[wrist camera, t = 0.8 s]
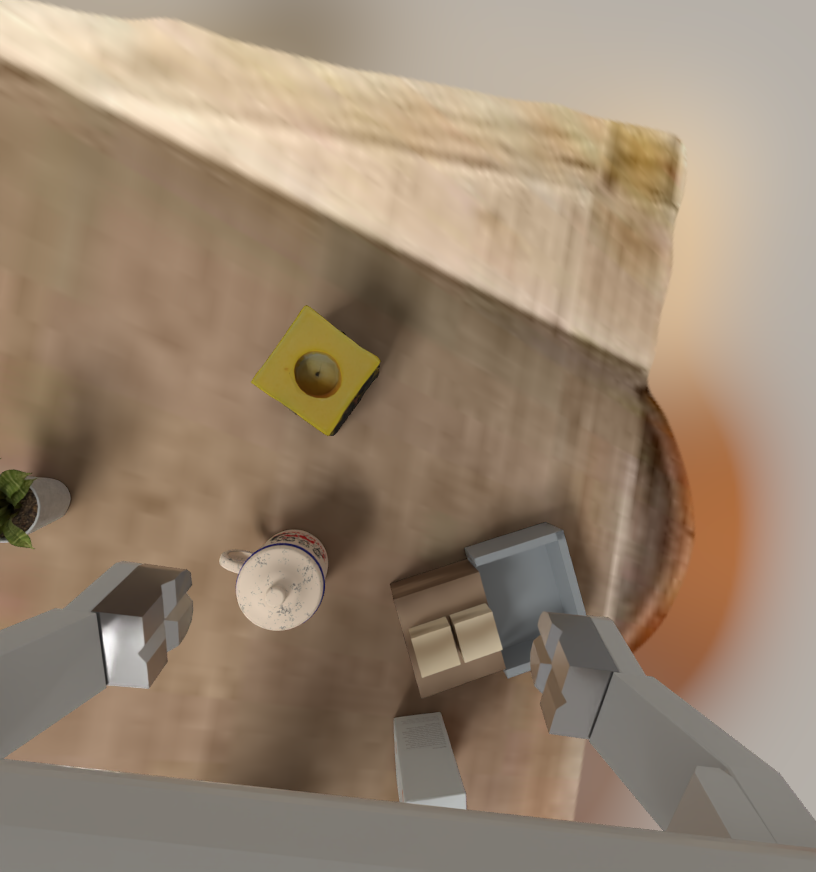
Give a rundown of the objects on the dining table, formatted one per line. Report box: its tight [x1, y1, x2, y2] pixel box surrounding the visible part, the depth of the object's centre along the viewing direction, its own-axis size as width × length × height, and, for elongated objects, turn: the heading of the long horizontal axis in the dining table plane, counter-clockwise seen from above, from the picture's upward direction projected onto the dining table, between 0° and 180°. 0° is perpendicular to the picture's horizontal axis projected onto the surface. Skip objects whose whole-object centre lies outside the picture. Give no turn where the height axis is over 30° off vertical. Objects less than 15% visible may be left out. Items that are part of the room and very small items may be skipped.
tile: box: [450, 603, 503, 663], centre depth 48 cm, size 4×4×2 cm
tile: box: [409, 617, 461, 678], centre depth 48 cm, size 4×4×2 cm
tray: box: [464, 522, 586, 678], centre depth 54 cm, size 15×12×5 cm
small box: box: [394, 712, 467, 810], centre depth 48 cm, size 8×6×13 cm
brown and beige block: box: [390, 559, 506, 699], centre depth 52 cm, size 12×10×6 cm
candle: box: [251, 305, 381, 436], centre depth 49 cm, size 10×10×10 cm
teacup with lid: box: [219, 530, 328, 631], centre depth 47 cm, size 12×9×12 cm
